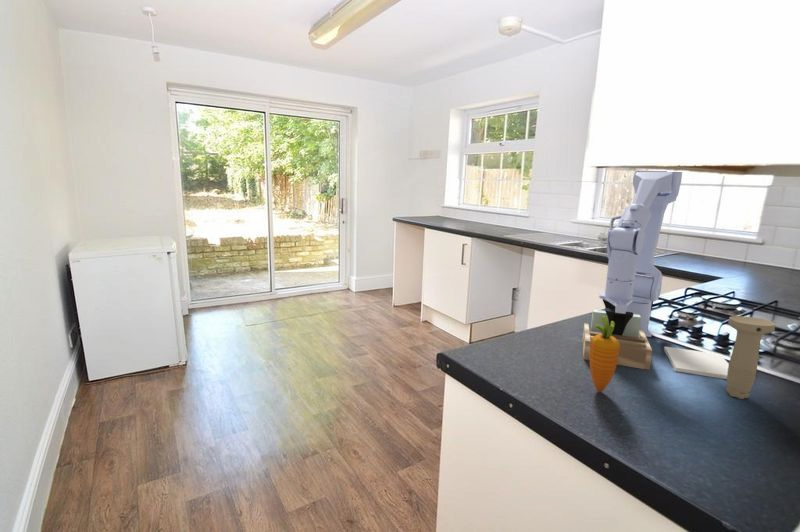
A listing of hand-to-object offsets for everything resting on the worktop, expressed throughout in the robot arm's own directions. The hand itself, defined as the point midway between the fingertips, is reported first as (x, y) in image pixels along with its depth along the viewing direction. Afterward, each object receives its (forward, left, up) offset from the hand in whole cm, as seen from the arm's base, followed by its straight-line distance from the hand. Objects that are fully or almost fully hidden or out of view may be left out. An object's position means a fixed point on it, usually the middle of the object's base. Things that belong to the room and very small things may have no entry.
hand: (613, 332), depth 95 cm
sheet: (0, 0, -4) cm, 4 cm away
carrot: (+24, -4, -4) cm, 25 cm away
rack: (+3, 0, -4) cm, 5 cm away
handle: (+15, +20, -4) cm, 25 cm away
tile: (+2, +17, -4) cm, 18 cm away
